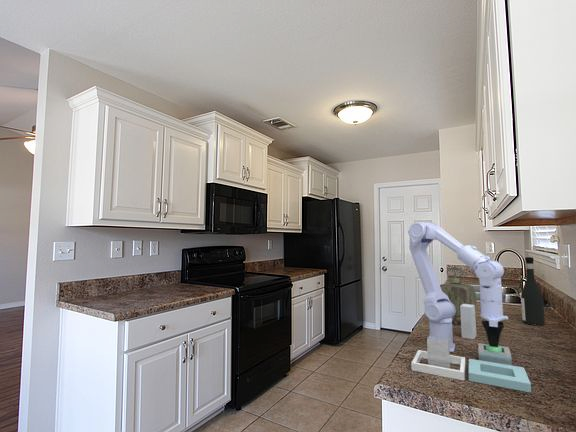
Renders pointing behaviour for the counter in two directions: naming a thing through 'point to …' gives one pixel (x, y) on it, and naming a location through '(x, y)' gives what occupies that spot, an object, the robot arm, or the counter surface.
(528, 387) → the pale blue window frame
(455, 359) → the white square frame
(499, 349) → the button
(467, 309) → the skincare box
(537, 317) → the wine bottle
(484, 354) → the button housing
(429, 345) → the billet
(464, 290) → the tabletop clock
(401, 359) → the counter surface
